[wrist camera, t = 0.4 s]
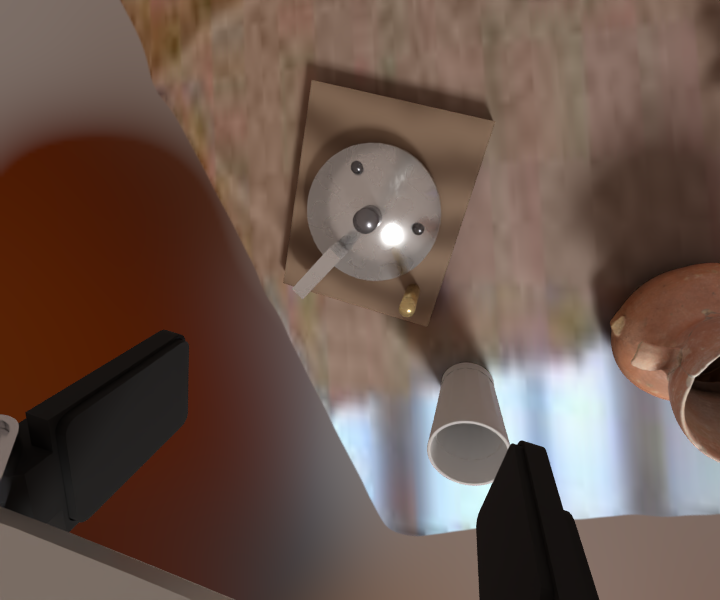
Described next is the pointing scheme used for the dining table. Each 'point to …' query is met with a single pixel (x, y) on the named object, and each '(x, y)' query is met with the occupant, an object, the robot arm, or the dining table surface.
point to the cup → (468, 427)
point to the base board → (413, 134)
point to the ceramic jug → (676, 347)
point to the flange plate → (387, 192)
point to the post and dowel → (367, 223)
